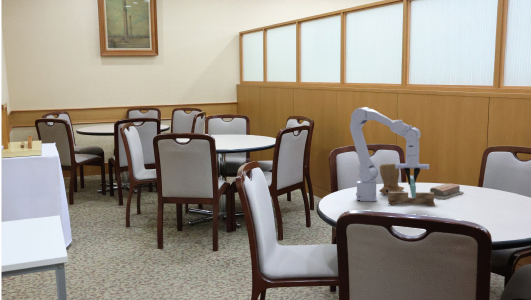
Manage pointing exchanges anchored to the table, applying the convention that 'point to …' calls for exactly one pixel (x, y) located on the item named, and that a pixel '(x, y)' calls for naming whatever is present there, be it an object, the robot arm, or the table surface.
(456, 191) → the packaged product
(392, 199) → the notched board
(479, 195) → the table surface
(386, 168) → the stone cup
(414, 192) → the slotted panel
